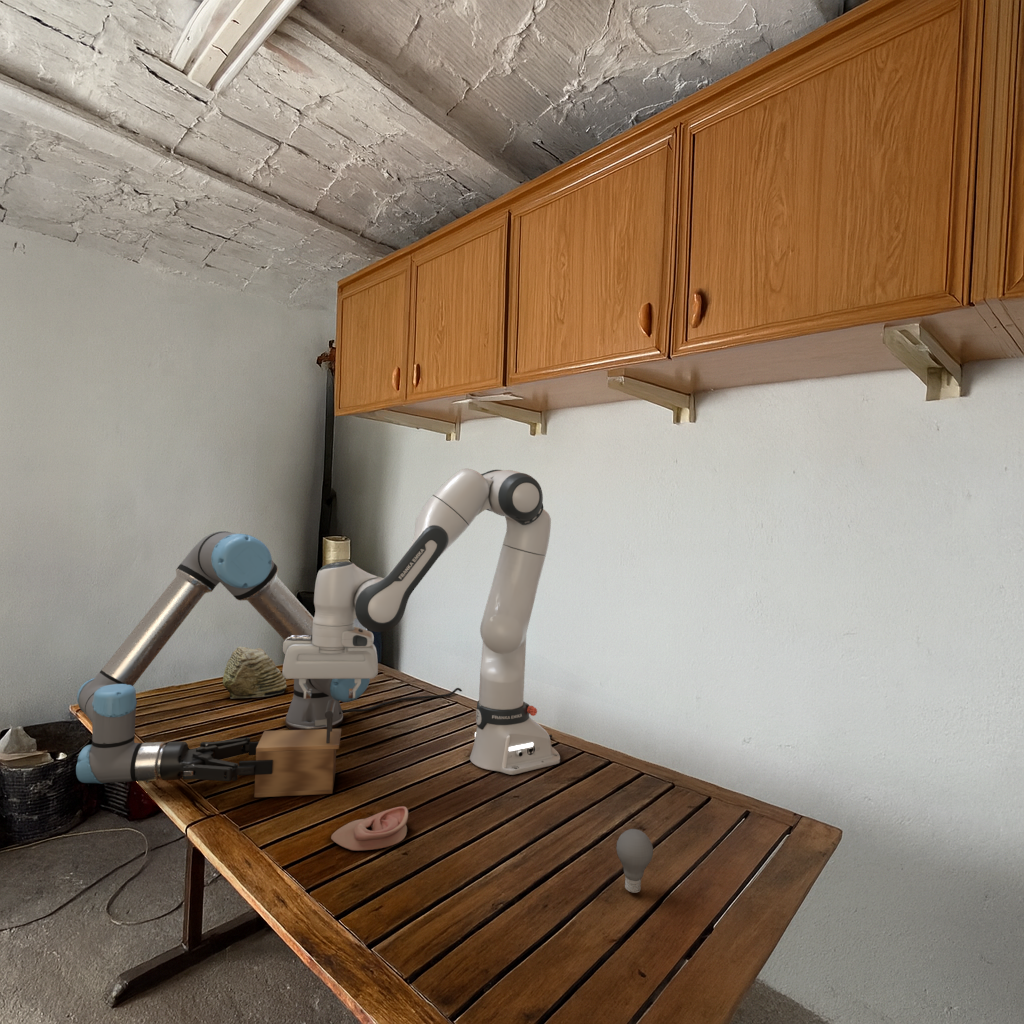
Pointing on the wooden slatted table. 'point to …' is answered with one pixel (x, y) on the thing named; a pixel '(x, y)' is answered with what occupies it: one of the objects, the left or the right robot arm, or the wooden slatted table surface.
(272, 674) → the fossil
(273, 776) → the chest
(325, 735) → the lid
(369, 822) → the anatomical model
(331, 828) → the wooden slatted table surface
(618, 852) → the light bulb
